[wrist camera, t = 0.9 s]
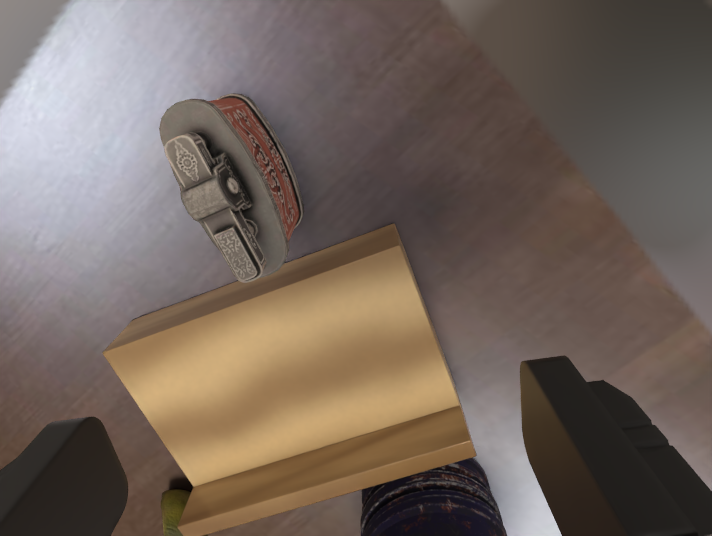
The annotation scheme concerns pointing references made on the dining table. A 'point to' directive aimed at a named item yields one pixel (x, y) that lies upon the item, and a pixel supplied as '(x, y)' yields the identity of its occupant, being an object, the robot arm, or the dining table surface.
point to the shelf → (296, 384)
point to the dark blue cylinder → (433, 504)
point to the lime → (173, 510)
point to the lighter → (234, 180)
